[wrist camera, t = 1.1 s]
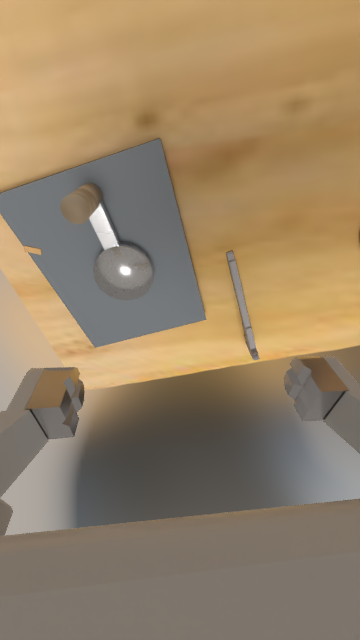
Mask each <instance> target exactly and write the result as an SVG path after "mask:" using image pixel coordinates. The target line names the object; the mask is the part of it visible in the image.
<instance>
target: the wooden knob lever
mask: <svg viewBox="0 0 360 640" xmlns="http://www.w3.org/2000/svg"><path fill="white" fill-rule="evenodd" d="M102 200H103V195H102V192H101V190H100V189H99V187H98V186H96V185H95V184H92V183H86V184H84V185H82V186H81V187H79V188H78V189H76V190H75V191H73V192H72V193H70V194H69V195H67V196H66V197H64V198H63V200H62V201H61V212H62V214H63V216H64V217H65V218H66V219H67V220H68V221H69V222H71V223H73V224H83V223H85V222H86V221H87V220H88V219H90V221H91V223H92V225H93V227H94V230H95V232H96V234H97V236H98V238H99V240H100V242H101V244H102V246H103V248H104V249H103V250H102V251H101V252H100V254H99V256H98V258H97V260H96V262H95V264H94V269H93V274H94V278H95V281H96V283H97V285H98V286H99V288H100V289H101V290H102V291H103V292H104V293H106V294H107V295H109V296H110V297H113V298H115V299H119V300H134V299H137V298H139V297H141V296H143V295H144V294H145V293H146V292H147V291H148V290H149V288H150V287H151V284H152V280H153V265H152V262H151V260H150V258H149V256H148V255H147V254H146V252H145V251H144V250H142V249H141V248H140V247H138V246H136V245H134V244H131V243H127V242H120V241H119V239H118V236H117V234H116V232H115V229H114V227H113V225H112V223H111V220H110V218H109V216H108V213H107V211H106V209H105V207H104V204H103V202H102Z"/></svg>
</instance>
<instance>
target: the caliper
mask: <svg viewBox="0 0 360 640" xmlns="http://www.w3.org/2000/svg"><path fill="white" fill-rule="evenodd" d="M226 255H227V259H228V264H229V268H230V273H231V277H232V281H233V285H234V289H235V293H236V297H237V301H238V305H239V309H240V313H241V317H242V321H243V323H242V324H243V327H244V331H245V335H244V337H245V339H246V344H247V347H248V349H249V352H250V354H251V356H252V358H253V359H254V360H258V359H259V356H258V352H257V350H256V345H255V341H254V337H253V333H252V328H251V326H250V321H249V317H248V313H247V308H246V304H245V299H244V295H243V291H242V286H241V282H240V278H239V273H238V269H237V265H236V260H235V258H234V254H233V251H230V252H227V253H226Z"/></svg>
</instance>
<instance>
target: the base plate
mask: <svg viewBox="0 0 360 640" xmlns="http://www.w3.org/2000/svg"><path fill="white" fill-rule="evenodd" d="M86 183H92V184H95V185H96V186H98V187H99V189H100V190H101V192H102V195H103V200H102V202H103V204H104V207H105V209H106V211H107V213H108V216H109V218H110V220H111V223H112V225H113V227H114V229H115V232H116V234H117V236H118V239H119V241H120V242H127V243H131V244H134V245H136V246H138V247H140V248H141V249H142V250H144V251H145V252H146V254H147V255H148V256H149V258H150V260H151V262H152V265H153V280H152V284H151V287H150V288H149V290H148V291H147V292H146V293H145V294H144V295H143V296H141V297H139V298H137V299H134V300H119V299H115V298H113V297H110V296H109V295H107V294H106V293H104V292H103V291H102V290H101V289H100V288H99V286H98V285H97V283H96V281H95V278H94V274H93V269H94V264H95V262H96V260H97V258H98V256H99V254H100V252H101V251H102V250H103V249H104V248H103V246H102V244H101V242H100V240H99V238H98V236H97V234H96V232H95V230H94V227H93V225H92V223H91V221H90V219H88V220H87V221H86V222H85V223H83V224H73V223H71V222H69V221H68V220H67V219H66V218H65V217H64V216H63V214H62V212H61V201H62V200H63V198H64V197H66V196H67V195H69V194H70V193H72V192H73V191H75V190H76V189H78V188H79V187H81V186H82V185H84V184H86ZM0 214H1V215H2V216H3V218H4V219H5V221H6V222H7V224H8V225H9V226H10V228H11V229H12V231H13V232H14V234H15V235H16V236H17V238H18V239H19V241H20V242H21V243H22V245H23V246H24V249H25V252H28V253H29V255H30V256H31V258H32V259H33V260H34V262H35V263H36V265H37V266H38V268H39V269H40V270H41V272H42V273H43V275H44V276H45V277H46V279H47V280H48V282H49V283H50V285H51V286H52V287H53V289H54V290H55V292H56V293H57V294H58V296H59V297H60V299H61V300H62V302H63V303H64V304H65V306H66V307H67V309H68V310H69V311H70V313H71V314H72V316H73V317H74V319H75V320H76V321H77V323H78V324H79V326H80V327H81V328H82V330H83V331H84V333H85V334H86V336H87V337H88V338H89V340H90V341H91V343H92V344H93V345H94V347H95V348H96V347H100V346H104V345H108V344H112V343H116V342H119V341H123V340H127V339H131V338H135V337H139V336H143V335H147V334H151V333H155V332H159V331H163V330H167V329H171V328H175V327H179V326H183V325H187V324H191V323H195V322H199V321H202V320H206V316H205V312H204V309H203V305H202V301H201V297H200V293H199V289H198V285H197V281H196V277H195V273H194V269H193V266H192V262H191V258H190V254H189V250H188V246H187V242H186V238H185V234H184V230H183V226H182V223H181V219H180V215H179V211H178V207H177V203H176V199H175V195H174V191H173V187H172V183H171V180H170V176H169V172H168V168H167V164H166V160H165V156H164V152H163V148H162V144H161V140H160V138H159V139H156V140H153V141H150V142H147V143H144V144H141V145H139V146H136V147H133V148H130V149H127V150H124V151H121V152H118V153H115V154H112V155H110V156H107V157H104V158H101V159H98V160H95V161H92V162H89V163H86V164H83V165H80V166H78V167H75V168H72V169H69V170H66V171H63V172H60V173H57V174H54V175H51V176H49V177H46V178H43V179H40V180H37V181H34V182H31V183H28V184H25V185H22V186H20V187H17V188H14V189H11V190H8V191H5V192H2V193H0Z"/></svg>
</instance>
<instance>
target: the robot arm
mask: <svg viewBox="0 0 360 640" xmlns="http://www.w3.org/2000/svg"><path fill="white" fill-rule="evenodd" d="M290 365H291V367H292V368H291V369H289V370H288V371H287V372H286V374H285V376H284V385H285V389H286V391H287V393H288V395H289V396H290V397H292V398H293V399H294V400H295V402H294V407H295V409H296V411H297V412H298V414H299V416H300V418H301V420H302V421H316V420H324V422H325V423H326V424H327V425H328V426H329V427H330V428H331V429H333V430H334V431H335V432H336V433H337V434H338V435H339V436H340V437H342V438H343V439H344V440H345V441H346V442H347V443H348V444H349V445H351V446H352V447H353V448H354V449H355V450H356V451H357V452H359V453H360V385H359V384H358V383H357V382H356V381H355V379H354V378H353V377H352V376H351V374H350V373H349V372H348V371H347V370H346V369H345V367H344V366H343V365H342V364H341V363H340V361H339V360H338V359H337V358H336V357H334V356H320V357H319V356H315V357H296V358H294V359H292V361H291V363H290ZM79 375H80V373H79V371H78V368H76V367H68V368H32V369H30V370H29V371H28V372H27V373H26V375H25V377H24V379H23V381H22V383H21V385H20V386H19V388H18V390H17V392H16V393H15V395H14V397H13V399H12V401H11V403H10V405H9V406H8V408H7V410H6V411H1V412H0V497H1V496H2V495H3V494H4V493H5V492H6V490H7V489H8V488H9V487H10V486H11V484H12V483H13V482H14V481H15V480H16V479H17V477H18V476H19V475H20V474H21V472H23V470H24V469H25V468H26V467H27V465H28V464H29V463H30V462H31V461H32V460H33V459H34V457H35V456H36V455H37V454H38V453H39V451H40V450H41V449H42V448H43V447H44V445H45V444H46V443H47V442H48V439H57V438H68V437H74V435H75V432H76V428H77V424H78V420H79V417H78V415H77V412H78V411H79V410H80V409H81V408H82V405H83V401H84V385H83V382H82V381H81V380H79V379H78V378H79ZM12 513H13V510H12V508H11V506H9V505H8V504H7V503H6V502H4V501H3V500H1V499H0V640H360V499H353V500H343V501H333V502H324V503H314V504H304V505H295V506H285V507H276V508H266V509H257V510H247V511H237V512H228V513H219V514H208V515H199V516H190V517H179V518H170V519H161V520H151V521H141V522H132V523H122V524H113V525H103V526H93V527H84V528H74V529H64V530H55V531H46V532H35V533H26V534H17V535H6V536H4V535H5V533H6V530H7V527H8V524H9V521H10V518H11V516H12Z"/></svg>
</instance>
